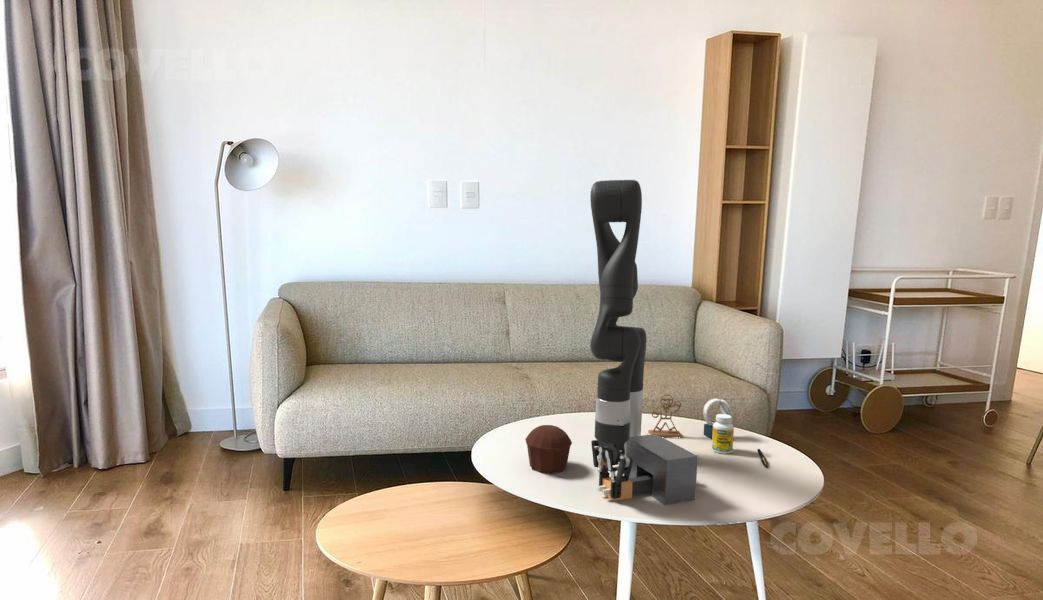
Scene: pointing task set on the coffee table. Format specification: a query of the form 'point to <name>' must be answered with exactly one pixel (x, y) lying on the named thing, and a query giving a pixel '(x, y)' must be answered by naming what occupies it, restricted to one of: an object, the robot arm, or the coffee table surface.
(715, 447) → the supplement bottle
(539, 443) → the muffin
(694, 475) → the bridge-shaped block
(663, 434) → the gingerbread man figurine
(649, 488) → the plug
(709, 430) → the watch
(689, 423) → the coffee table surface
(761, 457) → the fountain pen
